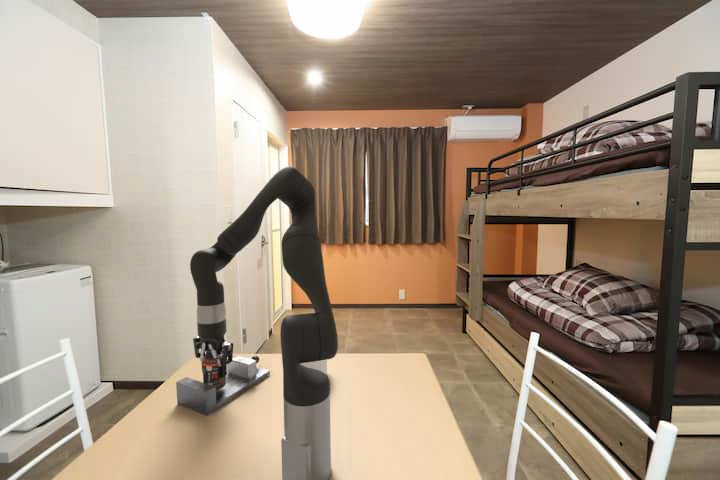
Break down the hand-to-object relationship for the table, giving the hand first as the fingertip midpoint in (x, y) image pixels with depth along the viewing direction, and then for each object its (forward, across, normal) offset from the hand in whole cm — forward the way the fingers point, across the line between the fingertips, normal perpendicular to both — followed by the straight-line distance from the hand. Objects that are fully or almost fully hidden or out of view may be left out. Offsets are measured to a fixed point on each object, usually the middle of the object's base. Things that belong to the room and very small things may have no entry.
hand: (214, 374), depth 94 cm
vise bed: (+6, 0, -4) cm, 8 cm away
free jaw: (+5, 0, -13) cm, 14 cm away
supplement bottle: (+4, 0, 0) cm, 4 cm away
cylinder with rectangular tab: (+7, -19, -22) cm, 30 cm away
